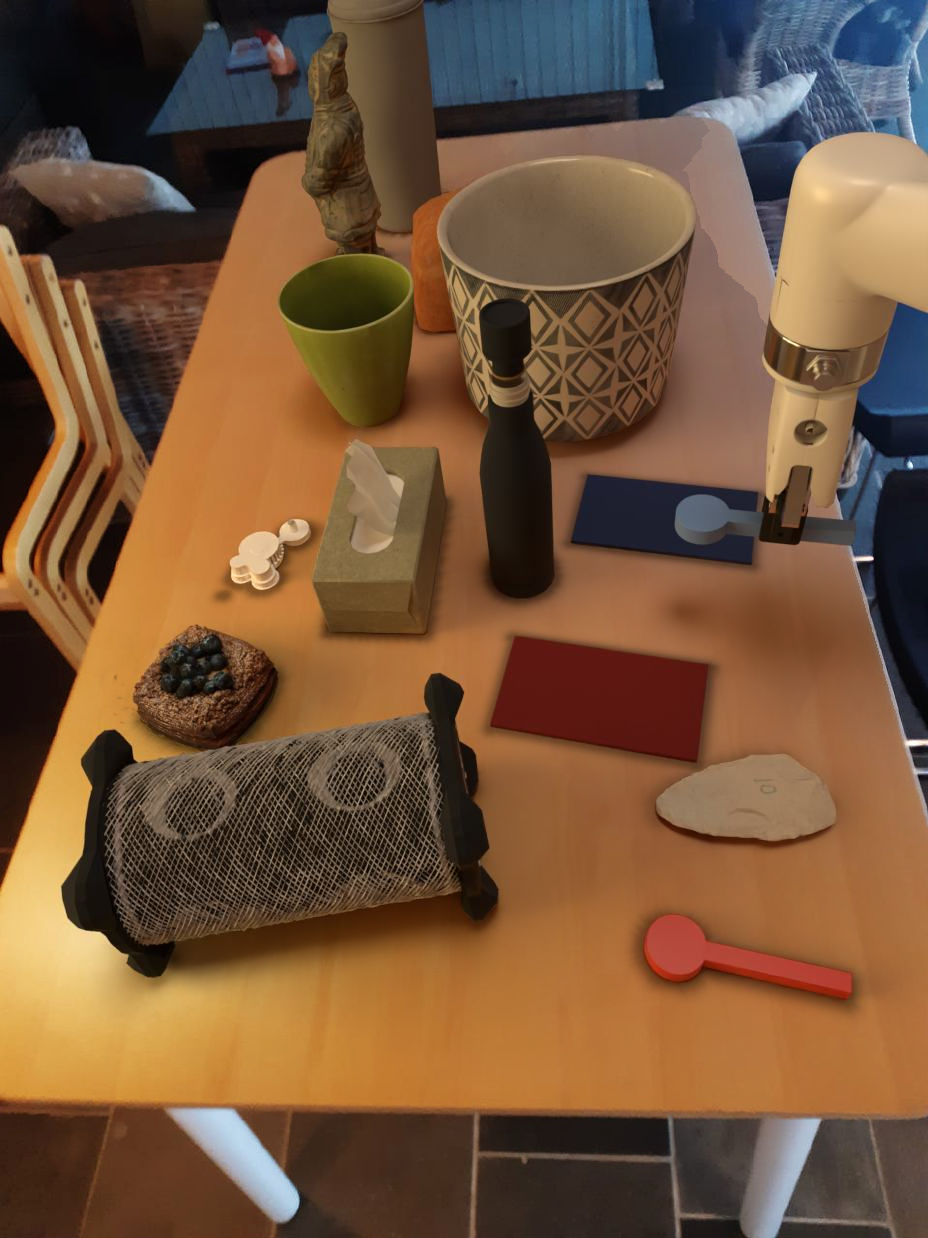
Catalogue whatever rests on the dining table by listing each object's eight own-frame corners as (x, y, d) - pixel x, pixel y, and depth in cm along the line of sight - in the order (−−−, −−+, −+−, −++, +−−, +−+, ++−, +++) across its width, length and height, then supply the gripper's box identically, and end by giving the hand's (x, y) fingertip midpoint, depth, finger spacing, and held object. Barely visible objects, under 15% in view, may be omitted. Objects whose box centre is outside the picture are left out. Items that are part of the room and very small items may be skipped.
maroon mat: (707, 666, 80) (708, 664, 80) (696, 762, 74) (697, 760, 74) (515, 637, 84) (514, 635, 84) (490, 726, 79) (490, 724, 78)
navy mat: (757, 494, 93) (758, 491, 92) (751, 564, 87) (751, 562, 87) (587, 476, 97) (587, 473, 97) (570, 542, 91) (570, 540, 91)
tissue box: (361, 499, 98) (330, 383, 86) (447, 499, 97) (428, 381, 84) (328, 635, 87) (287, 523, 74) (425, 637, 85) (400, 524, 73)
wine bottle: (485, 594, 88) (452, 335, 64) (498, 547, 92) (471, 286, 68) (548, 601, 87) (539, 339, 63) (559, 553, 90) (553, 289, 67)
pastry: (226, 765, 79) (205, 732, 74) (126, 720, 83) (99, 685, 78) (294, 672, 84) (277, 635, 80) (196, 633, 89) (175, 597, 84)
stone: (842, 839, 69) (849, 828, 68) (666, 860, 70) (668, 849, 68) (810, 751, 74) (815, 739, 72) (646, 771, 74) (647, 759, 73)
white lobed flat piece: (303, 588, 91) (298, 575, 89) (223, 594, 92) (216, 581, 90) (312, 523, 97) (307, 509, 95) (236, 529, 97) (230, 515, 96)
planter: (630, 491, 95) (642, 310, 78) (420, 434, 104) (390, 261, 87) (706, 351, 108) (731, 171, 91) (514, 312, 117) (504, 141, 100)
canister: (445, 235, 131) (410, -48, 104) (362, 240, 133) (306, -38, 105) (452, 192, 139) (421, -82, 111) (373, 197, 140) (324, -71, 113)
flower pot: (455, 390, 108) (440, 271, 96) (384, 464, 101) (357, 345, 89) (360, 358, 114) (334, 241, 102) (287, 425, 107) (249, 309, 95)
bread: (667, 308, 114) (678, 189, 102) (417, 339, 116) (398, 225, 103) (646, 252, 123) (654, 136, 111) (414, 282, 124) (396, 170, 112)
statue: (332, 252, 131) (280, 23, 108) (394, 250, 130) (354, 17, 106) (317, 295, 125) (258, 60, 101) (382, 293, 123) (337, 54, 100)
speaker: (154, 811, 77) (77, 722, 65) (476, 755, 77) (458, 656, 65) (138, 989, 67) (45, 923, 56) (505, 925, 68) (490, 845, 56)
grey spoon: (852, 521, 73) (856, 507, 72) (852, 560, 71) (856, 546, 69) (677, 505, 77) (678, 492, 75) (671, 542, 74) (673, 528, 73)
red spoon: (846, 958, 64) (852, 951, 62) (846, 1021, 61) (852, 1016, 60) (648, 915, 67) (650, 908, 66) (640, 973, 64) (642, 967, 63)
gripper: (887, 420, 53) (825, 609, 68) (881, 278, 62) (828, 472, 77) (758, 411, 55) (724, 597, 70) (770, 274, 64) (738, 464, 79)
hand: (779, 530), depth 73 cm, fingers closed on grey spoon, 1 cm apart
